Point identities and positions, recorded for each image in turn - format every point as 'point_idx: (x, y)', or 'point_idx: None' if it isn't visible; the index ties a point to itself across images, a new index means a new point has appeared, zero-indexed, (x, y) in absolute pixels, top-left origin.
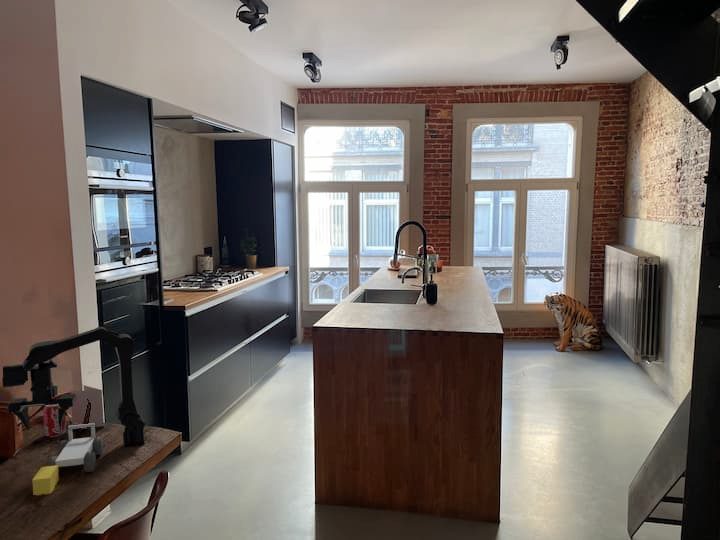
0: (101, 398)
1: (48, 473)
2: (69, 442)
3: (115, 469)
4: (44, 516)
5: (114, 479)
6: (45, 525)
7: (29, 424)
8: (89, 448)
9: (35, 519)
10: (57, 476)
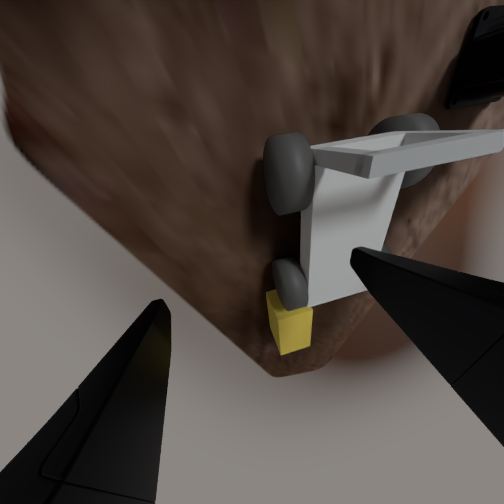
0: None
1: (303, 336)
2: (321, 186)
3: (395, 243)
4: (304, 354)
5: None
6: (310, 363)
7: (158, 334)
8: (383, 232)
9: (296, 359)
10: None
